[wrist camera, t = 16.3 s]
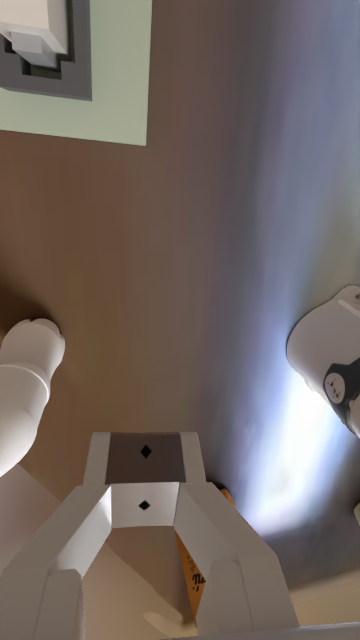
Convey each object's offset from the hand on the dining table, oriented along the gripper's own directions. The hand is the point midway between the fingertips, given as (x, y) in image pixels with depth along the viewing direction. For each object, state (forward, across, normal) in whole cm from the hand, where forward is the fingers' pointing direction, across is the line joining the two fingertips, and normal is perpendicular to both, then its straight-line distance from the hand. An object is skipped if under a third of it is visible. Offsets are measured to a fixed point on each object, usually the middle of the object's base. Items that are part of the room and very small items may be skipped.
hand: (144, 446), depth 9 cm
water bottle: (+32, +13, +16) cm, 39 cm away
